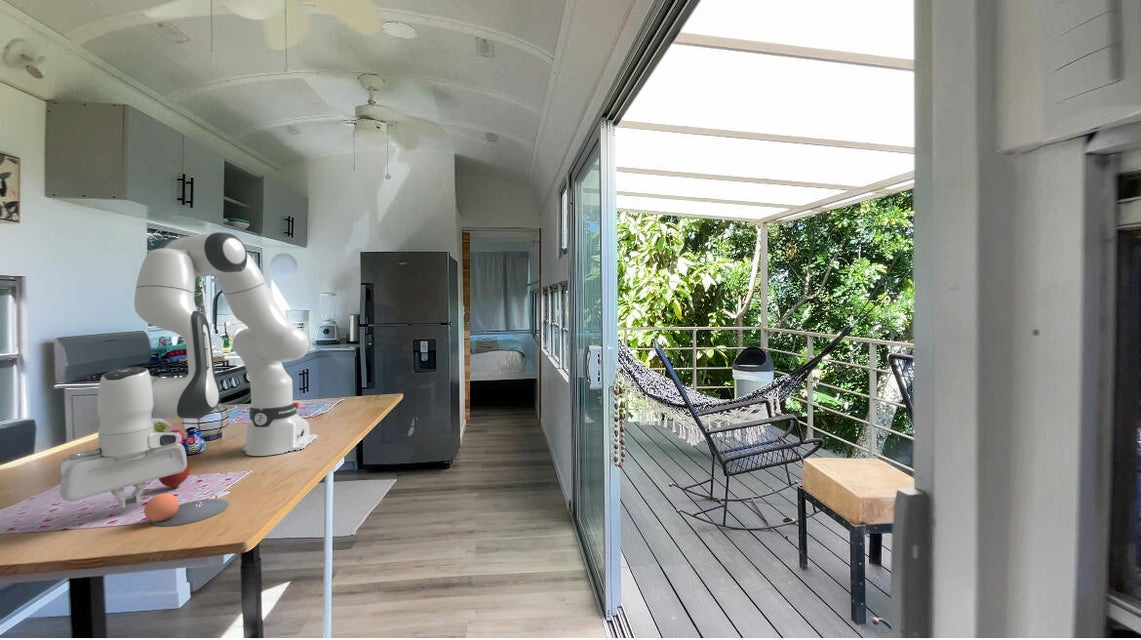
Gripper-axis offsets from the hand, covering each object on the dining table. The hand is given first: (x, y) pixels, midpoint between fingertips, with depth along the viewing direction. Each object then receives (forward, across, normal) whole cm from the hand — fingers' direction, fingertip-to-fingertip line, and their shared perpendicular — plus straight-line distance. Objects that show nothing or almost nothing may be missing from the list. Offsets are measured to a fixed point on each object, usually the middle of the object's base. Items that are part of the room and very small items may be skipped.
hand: (129, 505), depth 101 cm
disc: (+2, +6, -12) cm, 14 cm away
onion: (+2, +12, +8) cm, 14 cm away
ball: (-1, +1, -11) cm, 11 cm away
